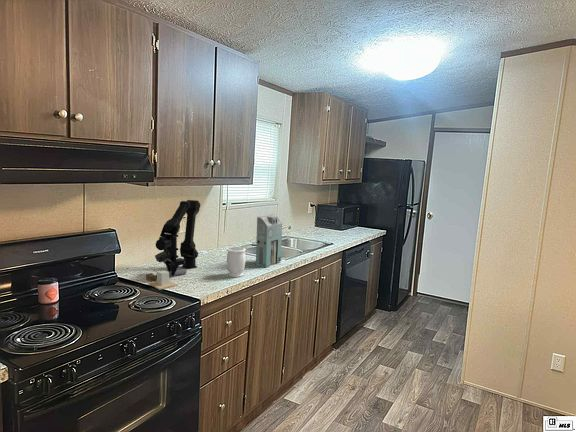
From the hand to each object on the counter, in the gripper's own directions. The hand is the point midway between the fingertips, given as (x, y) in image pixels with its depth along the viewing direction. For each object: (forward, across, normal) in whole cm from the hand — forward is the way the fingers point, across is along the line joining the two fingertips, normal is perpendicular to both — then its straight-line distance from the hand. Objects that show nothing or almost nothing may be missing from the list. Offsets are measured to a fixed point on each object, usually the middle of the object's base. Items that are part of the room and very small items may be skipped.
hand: (171, 274), depth 216 cm
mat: (+1, +10, -10) cm, 14 cm away
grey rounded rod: (+1, 0, 0) cm, 1 cm away
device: (+1, +12, +59) cm, 60 cm away
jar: (+1, +19, +29) cm, 35 cm away
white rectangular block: (0, +10, -10) cm, 14 cm away
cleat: (+1, 0, -12) cm, 12 cm away
